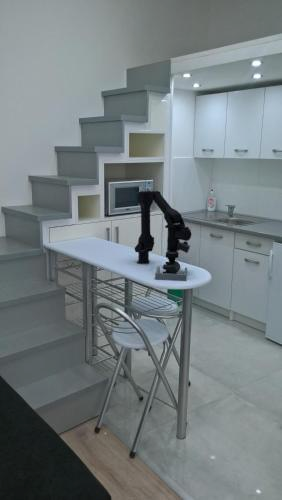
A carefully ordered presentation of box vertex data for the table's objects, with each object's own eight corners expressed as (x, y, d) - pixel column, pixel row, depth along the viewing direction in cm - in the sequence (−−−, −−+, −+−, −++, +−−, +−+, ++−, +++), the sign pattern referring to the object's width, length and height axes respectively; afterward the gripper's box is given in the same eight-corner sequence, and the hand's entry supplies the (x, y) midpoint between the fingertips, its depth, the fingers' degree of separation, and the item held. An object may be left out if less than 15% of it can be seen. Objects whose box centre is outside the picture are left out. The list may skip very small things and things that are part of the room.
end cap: (176, 279, 208) (177, 265, 206) (162, 278, 210) (162, 264, 208) (180, 273, 217) (180, 260, 216) (166, 272, 219) (166, 259, 218)
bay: (157, 271, 220) (157, 266, 220) (186, 273, 219) (186, 267, 218) (155, 279, 207) (155, 273, 207) (186, 280, 206) (186, 274, 205)
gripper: (188, 241, 207) (187, 272, 210) (189, 234, 225) (188, 263, 228) (165, 241, 208) (165, 271, 211) (168, 233, 226) (167, 262, 229)
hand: (172, 267), depth 220 cm, fingers closed
